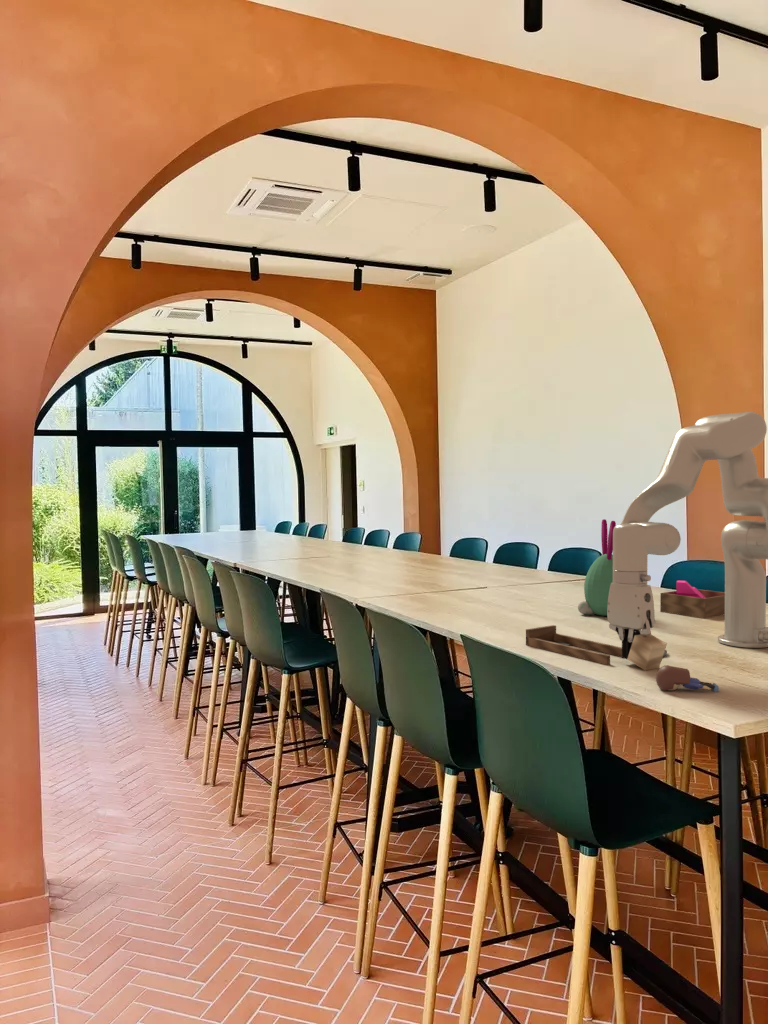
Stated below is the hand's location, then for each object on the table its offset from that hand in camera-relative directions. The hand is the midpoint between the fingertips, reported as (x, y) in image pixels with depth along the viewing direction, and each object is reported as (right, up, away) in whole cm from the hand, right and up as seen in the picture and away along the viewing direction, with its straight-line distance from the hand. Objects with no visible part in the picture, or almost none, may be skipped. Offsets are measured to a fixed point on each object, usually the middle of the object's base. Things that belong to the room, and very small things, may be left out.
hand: (629, 657), depth 169 cm
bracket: (+45, +1, +69) cm, 82 cm away
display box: (+45, +1, +68) cm, 82 cm away
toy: (+14, +1, +65) cm, 66 cm away
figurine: (+4, -3, -22) cm, 22 cm away
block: (+2, -1, -3) cm, 4 cm away
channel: (-8, -1, +13) cm, 15 cm away
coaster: (+8, -1, +10) cm, 13 cm away
